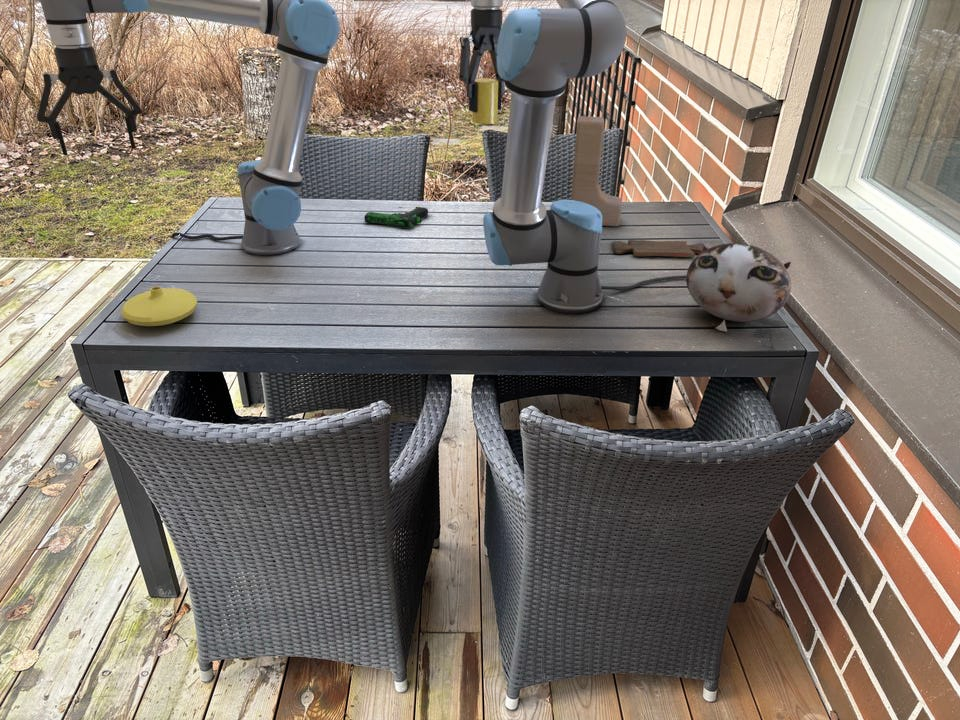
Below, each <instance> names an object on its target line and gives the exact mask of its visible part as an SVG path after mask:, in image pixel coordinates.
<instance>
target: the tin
mask: <svg viewBox="0 0 960 720" xmlns="http://www.w3.org/2000/svg"><path fill="white" fill-rule="evenodd" d="M474 84H477V112H472V111H471V113H472V115H471V116H472V119H471V120H472V121H471V122H473V123H474V124H479V125H494V124H496V123H498V118H499V117H498V114H499V113H498V112H499V110H498V80H497V79H496V78H489V77H482V78H481V77H480V78H479V77H478V78H476V79H475V83H474Z"/></svg>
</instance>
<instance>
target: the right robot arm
mask: <svg viewBox="0 0 960 720" xmlns="http://www.w3.org/2000/svg"><path fill="white" fill-rule="evenodd" d="M555 1H556V3H557V4H558V6H559V8H538V7H530V8H522V9H519V8H518V9H514V10H512V11H511V12H509V13H508V14H507V16H506V17H505V19H504V20H503V16H504V15H503V14H504V13H503V12H504V11H503V9H502V7H503V6H504V0H470V6H471V7H473V8H471V10H470V27H471V29H470V32H469V35H466V36H460V37H459V39H458V40H459V45H460V59H459V71H458V72H459V73H458V80H459V81H460V82H464V83H465V85H466V86H465V87H466V91H465V92H466V98H468V111H469V112H471V113H472V112H477V84H474V83H475V79H477V75H478V72H479V68H480V64H481V62H482V61H481V60H482V57H483V56H484V54H485V52H487V51H488V53H489V55H490V58H491V63H492V67H493V71H494V74H495V79H497V80H498V111H501V110H502V96H504V95H505V88H506V90H507V91H508V92H509V93H510V104H509V114H508V124H507V134H506V145H505V153H504V165H503V175H502V184H501V194H500V197H499V198H498V199H496V200H495V201H494V202H493V206H492V212H487V213H485V214H484V215H483V218H482V219H483V220H482V222H483V223H482V225H483V234H484V240H485V246H486V250H487V253H488V257H489V260H490V261H491V263H493V265H495V266H509V267H512V266H515V265H530V264H543V263H547V266H546V270H545V272H544V275H543V277H542V279H541V281H540V284H539V287H538V289H537V301H538V302H539V304H540V305H542V306H543V307H544V308H547V309H549V310H551V311H554V312H558V313H562V314H572V315H573V314H585V313H590V312H593V311H595V310H597V309H599V308H600V307H601V305H602V303H603V295H604V294H603V290H607V291H608V290H611V291H620V292H621V291H629V290H631V289H635V288H636V287H637V288H638V287H639V286H642V285H645V284H648V283H655V282H660V281H668V280H678V279H679V280H680V279H686V277H687V274H685V275H670V276H663V277H662V276H661V277H656V278H649V279H645V280H642V281H640V282H637V283H634V284H632V285H629V286H625V287H617V286H602V285H601V281H600V277H599V272H598V270H599V269H598V268H599V260H600V252H601V251H600V249H601V243H602V242H601V241H602V235H603V234H602V233H603V226H602V214H601V212H600V211H599V210H598V209H597V208H595V207H594V206H592V205H589V204H587V203H583V202H579V201H574V200H571V199H557V200H554V201H553V202H552V203H551V205H550V209H547V208H546V205H545V204H544V203H543V202H542V198H543V190H544V183H545V177H546V170H547V162H548V156H549V150H550V143H551V135H552V129H553V122H554V115H555V108H556V101H557V99H558V98H559V97H561V96H562V95H563V94H564V93H565V92H566V89H567V82H568V79H577V78H578V79H581V78H582V79H584V78H590V77H595V76H597V75H600V74H601V73H603V72H605V71H606V70H607V69H609V68H611V66H612V65H613V64H614V63H615V62H616V61H617V60H618V59H619V57H620V55H621V54H622V51H623V50H624V47H625V44H626V41H627V24H626V21H625V18H624V15H623V13H622V12H621V10H620V9H619V8H618V6H617V5H616V4H615V2H613V1H611V0H555ZM472 43H473V47H472V51H471V46H472ZM471 53H472V54H471Z"/></svg>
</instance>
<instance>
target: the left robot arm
mask: <svg viewBox="0 0 960 720" xmlns="http://www.w3.org/2000/svg"><path fill="white" fill-rule="evenodd" d="M39 1H40V5H41V6H40V7H41V9H42V13H43V16H44V19H45V24H46V27H47V32H48V35H49V38H50V42H51V44H52V45H53V46H55V47H54V49H53V53H54V57H55V61H56V64H57V68H58V73H49V72H48V71H45V72H43V76H42V77H43V82H44V85H43V89H42V93H41V98H40V102H39V106H38V110H37V114H36V120H37V122H40V123H46V124H47V125H48V127H49V131H50V134H51V137H52V139H53V140H58V142H59V144H60V148H61V152H62V156H68V149H67V146H66V143H65V140H64V135H63V132H62V128H61V125H60V121H56V120H57V119H58V117H59V115H60V114H61V112H62V110H63V109H64V107H65V105H66V103H67V102H68V100H69V99H70V98H71V96H72V94H75V95H76V96H81V95H85V94H86V95H87V94H88V95H93V94H95V93H96V92H97V93H99V94H100V95H102V96H103V97H104V98H106V99H107V100H108V101H109V102H110V103H112V104H113V105H114V106H115V107H116V108H118V110H120V111H121V112H122V113H123V114H125V115H124V116H123V118H124V122H125V126H126V131H127V134H128V138H129V143H130V146H131V150H135V149H137V148H136V147H137V146H136V143H135V139H134V135H133V134H134V133H137V132H138V127H137V123H136V116H138V115H141V114H142V113H143V110H142V107H141V106H140V105H139V103H138V102H137V101H136V99H134V97H133V96H132V94H131V93H130V92H129V90H127V88H126V87H125V86H124V84H123V83H122V81H121V80H120V79H119V76H118V73H117V71H116V69H115V68H110V69H109V70H103V71H102V70H101V69H100V66H99V62H98V58H97V54H96V50H95V48H94V47H93V46H92V45H91V44H93V36H92V33H91V28H90V25H89V21H88V18H87V14H123V13H124V14H127V13H128V14H134V13H144V12H146V13H153V14H160V15H165V16H174V17H180V18H185V19H186V18H187V19H191V20H200V21H206V22H213V23H219V24H226V25H233V26H240V27H245V28H252V29H257V30H258V32H260V33H261V34H263V35H269V36H273V37H276V38H277V37H278V38H277V43H276V48H275V50H276V52H277V54H278V55H279V57H280V65H279V70H278V75H277V81H276V86H275V92H274V97H273V102H272V107H271V112H270V118H269V123H268V129H267V134H266V140H265V145H264V149H263V156H262V159H256V160H249V161H245V162H241V163H239V164H238V166H237V178H238V182H239V189H240V194H241V195H240V196H241V201H242V208H243V212H244V213H243V215H244V219H245V220H244V226H243V228H244V229H243V235H230V236H229V235H228V236H222V237H221V236H215V235H213V234H210V233H204V234H199V235H187V234H184V233H181V232H174V233H172V234H171V235H170V237H169V238H170V239H174V238H175V237H181V238H184V239H187V240H199V239H204V238H210V239H212V240H214V241H218V242H219V241H220V242H221V241H222V242H223V241H230V240H241V246H242V249H243V251H244V252H246V253H248V254H252V255H255V256H256V255H257V256H275V255H281V254H282V255H283V254H285V253H289V252H291V251H293V250H296V249H297V248H298V247H299V246H300V244H301V241H300V235H299V233H298V231H297V229H296V227H295V225H294V224H295V223H297V221H298V220H299V218H300V217H301V213H302V202H301V198H300V195H301V189H302V184H303V180H304V178H303V176H302V175H301V173H300V172H299V167H300V162H301V158H302V153H303V148H304V144H305V138H306V134H307V129H308V124H309V120H310V114H311V110H312V104H313V100H314V96H315V91H316V85H317V81H318V75H319V72H320V71H321V70H322V69H323V68H325V67H326V66H328V61H329V56H330V51H331V50H332V49H333V47H334V46H335V44H336V43H337V41H338V38H339V34H340V21H339V18H338V15H337V13H336V11H335V10H334V8H333V6H332V5H330V3H329V2H328V1H327V0H39ZM104 78H106V79H107V80H108V81H110V82H113V84H114V86H115V87H116V88H117V89H118V90H119V92H120V93H121V94H122V95H123V97H124V98H125V100H126V101H127V102H128V103H129V105H131V106H130V107H132V108H129V107H128V106H127V105H126V104H124V103H123V102H122V101H121V100H120V99H119V98H117V97H116V96H115V95H114V94H113V93H112V92H110V91H109V89H107V88H106V87H105V86H103V85H102V82H103V80H104ZM57 81H59V82H61V84H63V85H64V89H63V91H62V93H61V94H60V96H59V97H58V99H57V101H56V103H55V104H54V106H53V108H52V110H51V111H50V113H49V115H46V112H47V107H48V104H49V100H50V95H51V92H52V86H54V85H55V84H56V83H57ZM179 234H180V236H178V235H179Z"/></svg>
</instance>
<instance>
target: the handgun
mask: <svg viewBox="0 0 960 720" xmlns="http://www.w3.org/2000/svg"><path fill="white" fill-rule="evenodd" d="M428 215H429V209H428V208H426V207H421V206H416V207H415V208H414V209H412V210H410V211H409V212H407V211H406V212H404V213H401V212H398V213H396V212H395V213H381V212H375V211H374V212H373V211H369V212H366V213H365V215H364V217H363V219H364V222H365V223H373V224H380V225H387V226H394V227H400V228H401V229H409V230H410V229H412V228H413V227H415V226H416V225H420V224H421V223H422V222H423V220H422V219H425V218H427V217H428Z"/></svg>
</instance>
